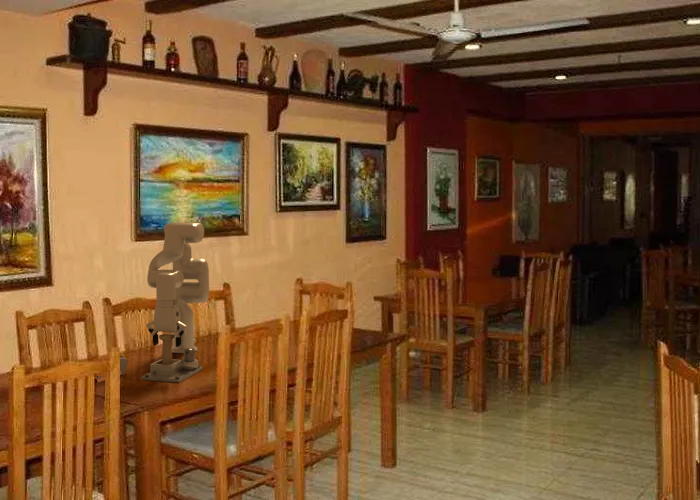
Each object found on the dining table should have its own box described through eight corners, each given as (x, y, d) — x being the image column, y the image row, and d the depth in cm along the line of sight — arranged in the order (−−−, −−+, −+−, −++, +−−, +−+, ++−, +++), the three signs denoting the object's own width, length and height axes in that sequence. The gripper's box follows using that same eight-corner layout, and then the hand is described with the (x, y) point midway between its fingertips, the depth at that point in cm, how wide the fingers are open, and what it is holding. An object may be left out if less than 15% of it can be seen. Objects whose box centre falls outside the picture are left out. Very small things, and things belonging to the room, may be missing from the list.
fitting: (167, 367, 330) (166, 345, 329) (202, 369, 326) (202, 347, 326) (141, 379, 309) (141, 356, 308) (179, 382, 305) (179, 359, 304)
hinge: (115, 372, 321) (121, 350, 319) (124, 377, 320) (131, 354, 317) (87, 381, 306) (94, 358, 304) (96, 386, 304) (103, 363, 302)
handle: (157, 372, 316) (156, 335, 314) (169, 369, 321) (168, 332, 320) (165, 374, 313) (165, 336, 312) (177, 371, 318) (177, 334, 317)
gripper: (190, 303, 316) (190, 344, 318) (150, 300, 320) (151, 342, 322) (182, 306, 309) (182, 349, 311) (141, 304, 313) (142, 346, 315)
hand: (167, 345), depth 317 cm, fingers open, 9 cm apart
